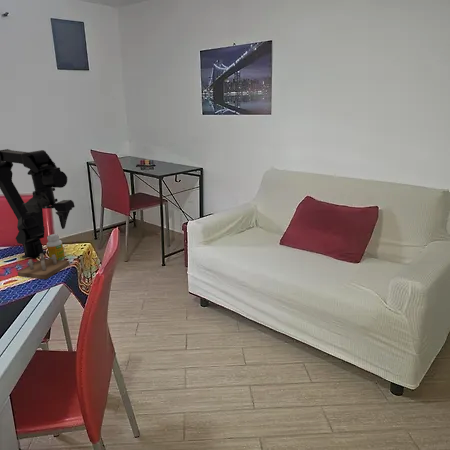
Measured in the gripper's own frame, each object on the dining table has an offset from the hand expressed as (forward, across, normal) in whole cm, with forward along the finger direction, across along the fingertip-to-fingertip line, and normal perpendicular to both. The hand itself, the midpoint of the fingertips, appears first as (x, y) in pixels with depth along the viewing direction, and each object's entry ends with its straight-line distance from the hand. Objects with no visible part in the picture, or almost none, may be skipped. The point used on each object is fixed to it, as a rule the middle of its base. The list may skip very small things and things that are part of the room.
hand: (52, 228), depth 147 cm
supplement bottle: (+13, -2, +1) cm, 13 cm away
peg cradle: (+13, 0, -8) cm, 15 cm away
